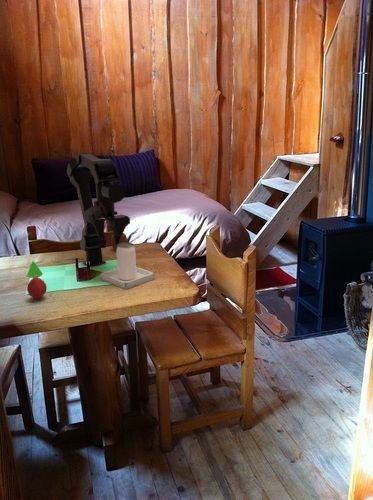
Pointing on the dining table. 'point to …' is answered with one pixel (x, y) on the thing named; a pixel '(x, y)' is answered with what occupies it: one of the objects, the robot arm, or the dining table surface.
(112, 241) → the brown rounded spiky piece
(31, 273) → the green pyramid
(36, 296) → the red rounded piece
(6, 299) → the dining table surface
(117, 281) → the tray
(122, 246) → the can
